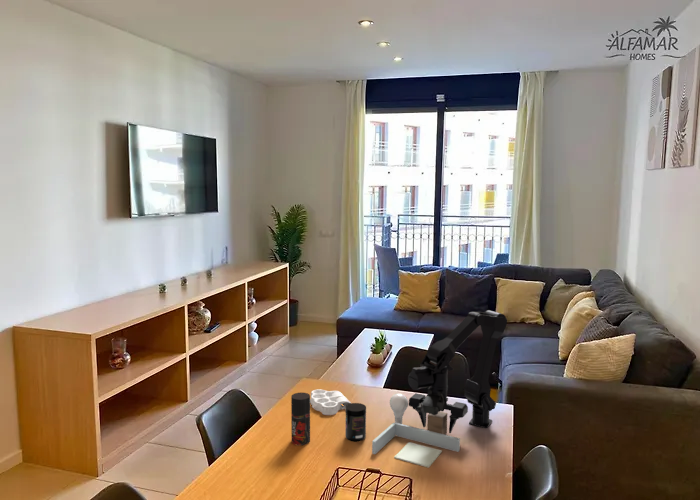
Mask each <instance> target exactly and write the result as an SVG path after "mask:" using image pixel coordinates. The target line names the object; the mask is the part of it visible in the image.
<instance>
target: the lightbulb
mask: <svg viewBox="0 0 700 500" xmlns="http://www.w3.org/2000/svg"><path fill="white" fill-rule="evenodd" d="M389 406H390V408H391V411H392V412H393V415H394V423H400V424H403V417H404V414H405V412H406V410H407V409H408V407H409V399H408V398H407V397H406V395H405V394H404V393H400V392H398V393H394V394H393V395H392V396H391V397H390V399H389Z"/></svg>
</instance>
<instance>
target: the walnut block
mask: <svg viewBox="0 0 700 500" xmlns="http://www.w3.org/2000/svg"><path fill="white" fill-rule="evenodd" d="M426 425H427V427H426V428H427V429H426V430H428V431H432V432H436V433H440V434H444V435H447V434H448V433H447V432H448V430H447V429H448V413H447V412H444V411H440V412H438V414H436V415H432V414H430V413H427V419H426Z"/></svg>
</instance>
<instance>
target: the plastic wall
mask: <svg viewBox="0 0 700 500" xmlns="http://www.w3.org/2000/svg"><path fill="white" fill-rule="evenodd" d="M394 437H400V438H403V439H407V440H411V441H414V442H418V443H422V444H426V445H430V446H433V447H438V448H440V449H441V448H442V449H446V450H450V451H453V452H456V453H457V452H458V453H460V451H461V449H460V448H461V447H460V446H461V438H460V437H457V436H452V435H447V434H446V435H444V434H440V433H436V432H432V431H428V430H427V429H423V428H419V427H415V426H411V425H408V424H407V425H406V424H403V423H402V424H400V423H395V422H393V423H391V424H390V425H389V426H388V427H386V429H385V430H383V431H382V432H381V433H380V434H379V435H377V437H375V438H374V439H373V440H372V441H371V442H372V443H371V444H372V446H371V447H372V449H371V450H372V451H371V454H372V455H376V454H377V453H379V452H380V450H382V448H384V446H386V445H387V444H388V443H389V442H391V440H392V439H393V438H394Z"/></svg>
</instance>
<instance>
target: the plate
mask: <svg viewBox="0 0 700 500" xmlns="http://www.w3.org/2000/svg"><path fill="white" fill-rule="evenodd" d="M442 452H443V450H441V449H437V448H434V447H431V446H425V445H423V444H419V443H414V442H410V441H408V442H406V444H405V446H404V447H402V449H400V451H399V452H398V453H397V454H395V455H394V459H396V460H400V461H403V462H408V463H411V464H413V465H416V466H417V465H418V466H422V467H424V468H429V469H430V467H431V466H432V465H433V463H434V462H435V461H436V459H438V458H439V456H440V455H441V453H442Z"/></svg>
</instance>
